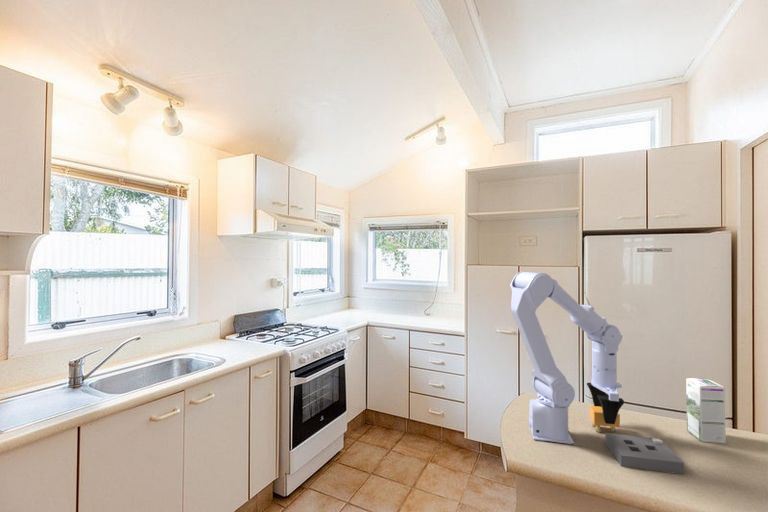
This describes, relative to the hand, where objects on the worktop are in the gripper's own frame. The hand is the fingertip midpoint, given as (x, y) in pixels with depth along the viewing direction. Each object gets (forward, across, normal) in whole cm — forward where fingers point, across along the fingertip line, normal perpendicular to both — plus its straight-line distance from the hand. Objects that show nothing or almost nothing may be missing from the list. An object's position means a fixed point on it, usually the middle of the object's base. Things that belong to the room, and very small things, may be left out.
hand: (604, 416), depth 95 cm
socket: (+4, -12, -4) cm, 13 cm away
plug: (+4, 0, 0) cm, 4 cm away
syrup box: (+4, +2, -24) cm, 24 cm away
